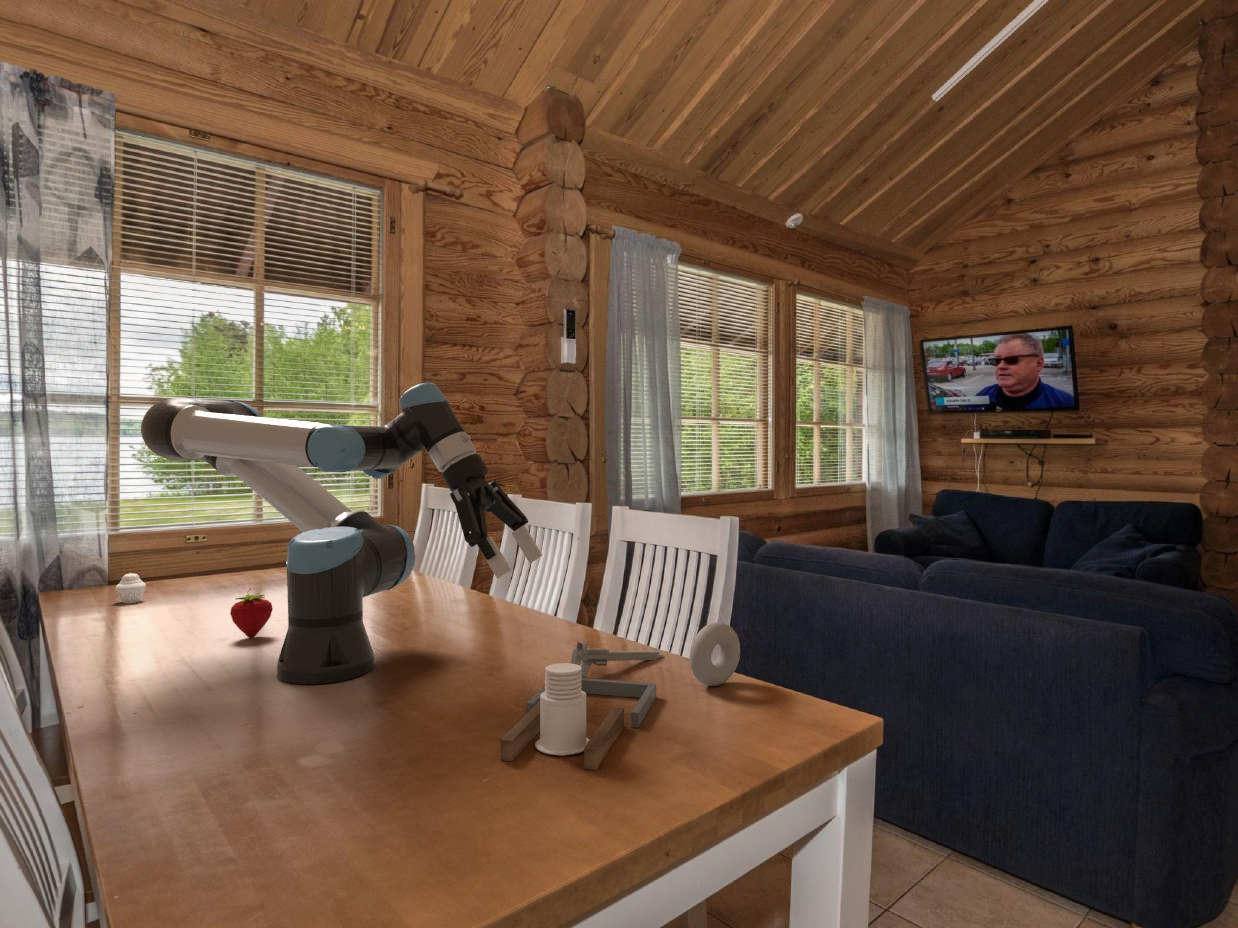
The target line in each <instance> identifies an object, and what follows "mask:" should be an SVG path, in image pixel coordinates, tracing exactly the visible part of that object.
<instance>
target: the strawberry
mask: <svg viewBox="0 0 1238 928" xmlns="http://www.w3.org/2000/svg"><path fill="white" fill-rule="evenodd" d="M251 589H252V588H251V587H250V588H249V589H248V591H247V592H246V593H247V594H246V595H245V596H242V597H236V598H234V600H241V601H237V602H235V603H234V604H233V605H232V606H231V608H230V616H231V617H230V618H231V619H232V623H233V624H234V625H235V626H236V627H237V628H238V629H239V630H240V631H241V632H243V634H244V635H245V636H246V637H247V638H249V639H253V638H255V637H256V636H257V635H258V634H259V632H260V631H261V630H262V629H263V628H264V627H265V626H266V623H267V622H268V621H269V619H270V618H271V616H272V612H273V605H272V602H271V601H269V600H267V599H265V598H266V597H265V594H259V595H256V594H251V595H250V594H249V593H250V591H251Z"/></svg>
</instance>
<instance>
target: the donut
mask: <svg viewBox="0 0 1238 928" xmlns="http://www.w3.org/2000/svg"><path fill="white" fill-rule="evenodd" d="M716 646H719V648H718V649H719V651H718V655H717V658H716V660H715V661H714V662H712V657H713V652H714V649H715V647H716ZM689 652H690V653H689V663H690V664H689V665H690V669H691V671H692V673H693V676H694V677H695V678H696V679H697V680H698V682H700V683H701V684H703V685H706V686H708V687H715V686H720V685H722V684H724V683H726V682H727V681H728V680H729V679H730V678H731V677H732V676H733V675H734V673H735V671H736V670H737V668H738V665H739V662H740V659H741V658H740V656H741V642H740V640H739V637H738V634H737V632H736V631H735V630H734V628H733V627H732V626H730V625H729V624H727V623H724V622H721V621H719V622H718V621H717V622H715V621H714V622H711V623H709V624H706V625H704V626H703V627H702V628H701V629H700V630H699V631H698V632H697V634H696V635H695V637H694V639H693V641H692V645H691V647H690V651H689Z"/></svg>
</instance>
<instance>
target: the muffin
mask: <svg viewBox="0 0 1238 928" xmlns="http://www.w3.org/2000/svg"><path fill="white" fill-rule="evenodd" d="M114 589H115V591H116V595H117V596H118V597H119V599H120V601H121V603H123V604H134V603H139V602H140V601H141V598H142V597H143V594H144V593H145V591H146V589H147V583H145V582H144V581H143V580H142V579H141V578H140V576H139V574H137V573H132V572H129V573H127V574H124V575H123V576H122V577H121V580H120V581H119V583H118V584H116V586H115V588H114Z"/></svg>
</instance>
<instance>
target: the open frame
mask: <svg viewBox="0 0 1238 928" xmlns="http://www.w3.org/2000/svg"><path fill="white" fill-rule="evenodd" d="M581 681H582V684H581V686H582V689H581V690H582V691H584V692H585V693H586V694H588V695H589V694H590V695H602V696H614V697H615V696H616V697H627V698H636V699H637V698H639V699H638V701H637V702H636V704H635V706H634V707H633V709H632V711H631V714H630V715H631V718H630V721H631V722H630V723H631V725H630V726H631V728H636V729H637V728H639V727H640V726H641V724H642V722H644V721H643V720H644V719H645V717H646V716H647V713H648V712H649V710H650V709H651V706H652V705H653V703H654V702H655V700H656V699H657V683H653V682H652V683H650V682H638V681H625V680H616V679H615V680H614V679H603V678H602V679H598V678H589V677H588V678H587V677H586V678H582V679H581ZM545 686H546V685H545V684H544V686H543V687H542V688H541V689H539V690H538V692H536V693H535V694H534V695H533V696H532V697H531V698H530V699H529V700H528V701H526V705H525V707H526V709H525V710H526V713H525V715H526V714H527V713H528V712H529V711H530V710H531V709H532V708H533V707H534V706H535V705H536V704H537V703H538V702H539V701H540V695H541V693H543V692H545Z"/></svg>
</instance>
